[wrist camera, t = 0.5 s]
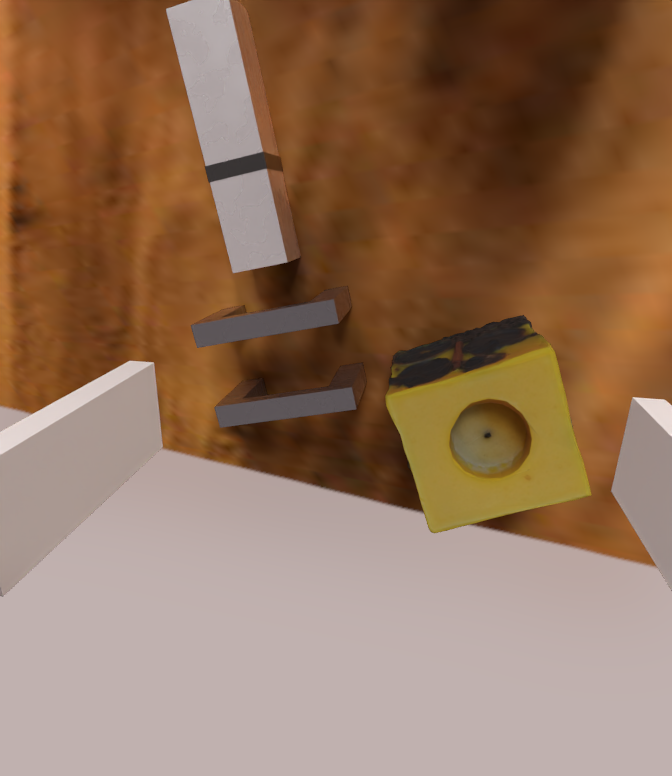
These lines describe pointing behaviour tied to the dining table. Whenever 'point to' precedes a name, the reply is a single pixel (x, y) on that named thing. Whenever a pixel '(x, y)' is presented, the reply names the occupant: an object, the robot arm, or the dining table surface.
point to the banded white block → (235, 131)
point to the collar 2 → (291, 399)
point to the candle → (485, 425)
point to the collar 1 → (272, 319)
